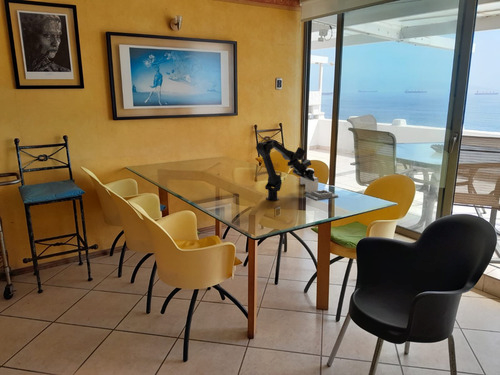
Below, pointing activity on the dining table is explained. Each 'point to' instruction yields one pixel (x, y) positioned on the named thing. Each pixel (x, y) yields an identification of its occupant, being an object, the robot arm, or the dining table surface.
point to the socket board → (321, 195)
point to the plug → (311, 185)
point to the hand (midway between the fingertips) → (310, 179)
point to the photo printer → (303, 180)
